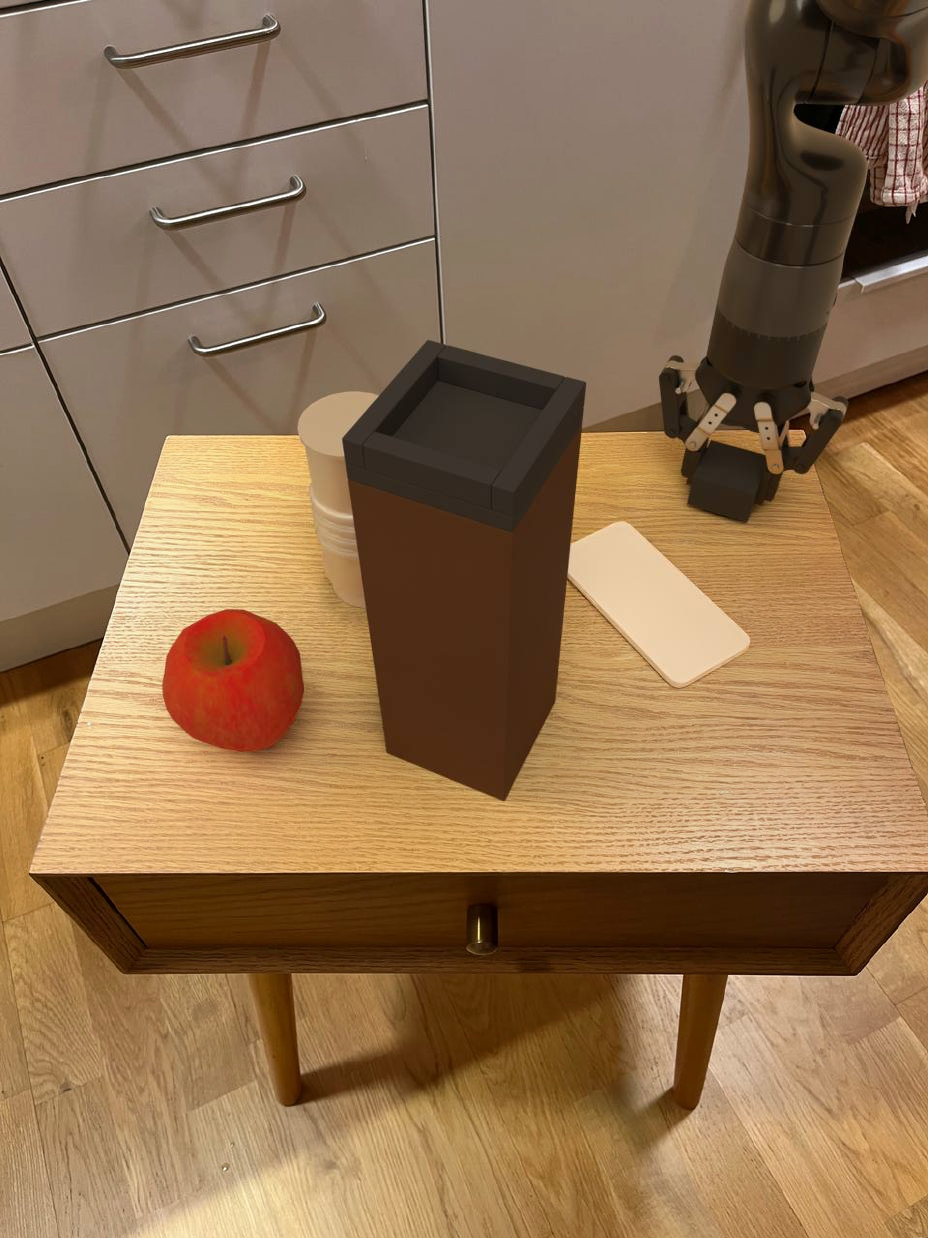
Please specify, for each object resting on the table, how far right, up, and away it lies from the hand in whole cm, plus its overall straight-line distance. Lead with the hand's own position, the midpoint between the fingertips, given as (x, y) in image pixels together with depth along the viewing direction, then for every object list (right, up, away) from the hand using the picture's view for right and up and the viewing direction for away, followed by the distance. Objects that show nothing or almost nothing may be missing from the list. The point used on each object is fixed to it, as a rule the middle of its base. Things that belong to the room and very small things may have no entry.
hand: (727, 488), depth 78 cm
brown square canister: (-21, -18, -13) cm, 30 cm away
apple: (-36, -19, -13) cm, 42 cm away
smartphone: (-8, -10, -6) cm, 14 cm away
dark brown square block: (0, 0, +1) cm, 1 cm away
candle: (-29, -8, -4) cm, 30 cm away
